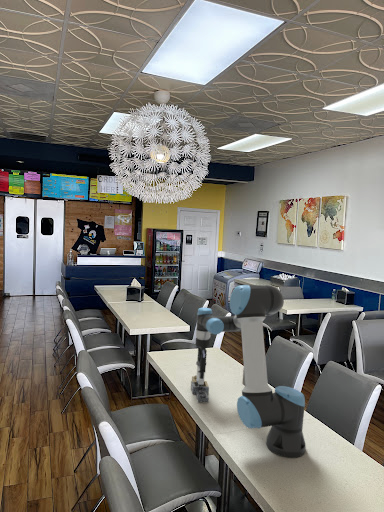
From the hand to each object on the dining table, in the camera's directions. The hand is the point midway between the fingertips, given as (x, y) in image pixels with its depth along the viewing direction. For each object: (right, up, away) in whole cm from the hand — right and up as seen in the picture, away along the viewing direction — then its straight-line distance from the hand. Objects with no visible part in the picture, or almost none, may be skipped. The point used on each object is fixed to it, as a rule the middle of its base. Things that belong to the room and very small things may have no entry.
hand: (200, 381), depth 203 cm
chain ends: (0, -5, 0) cm, 5 cm away
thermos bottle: (+28, -6, +14) cm, 32 cm away
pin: (0, -5, 0) cm, 5 cm away
